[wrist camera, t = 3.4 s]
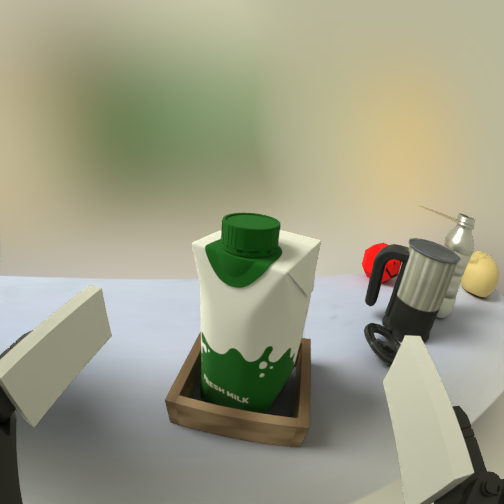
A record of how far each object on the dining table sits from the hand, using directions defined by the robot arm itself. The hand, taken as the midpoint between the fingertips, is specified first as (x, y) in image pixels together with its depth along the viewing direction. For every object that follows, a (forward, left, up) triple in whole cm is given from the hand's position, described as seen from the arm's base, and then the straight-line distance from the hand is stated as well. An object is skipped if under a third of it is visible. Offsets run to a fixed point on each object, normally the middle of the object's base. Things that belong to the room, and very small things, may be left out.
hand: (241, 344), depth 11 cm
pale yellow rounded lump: (+53, +48, -18) cm, 74 cm away
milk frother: (+21, +26, -18) cm, 38 cm away
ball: (+23, +48, -18) cm, 56 cm away
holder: (-1, +12, -18) cm, 21 cm away
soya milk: (-1, +12, -18) cm, 22 cm away
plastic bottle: (+33, +35, -18) cm, 51 cm away
